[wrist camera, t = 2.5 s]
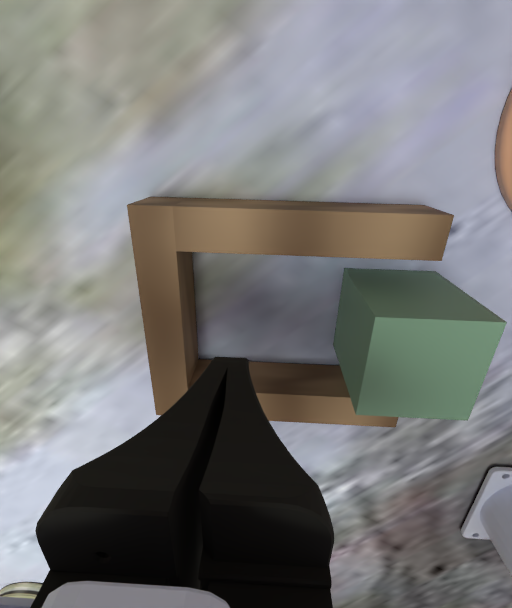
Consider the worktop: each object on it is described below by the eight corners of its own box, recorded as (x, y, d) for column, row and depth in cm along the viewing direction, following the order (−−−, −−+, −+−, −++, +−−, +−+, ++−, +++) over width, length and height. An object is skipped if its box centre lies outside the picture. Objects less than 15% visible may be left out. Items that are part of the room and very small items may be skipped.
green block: (435, 271, 18) (506, 322, 12) (414, 347, 20) (467, 420, 15) (344, 267, 18) (375, 317, 13) (333, 344, 20) (355, 415, 15)
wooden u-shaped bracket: (423, 205, 16) (454, 215, 14) (379, 392, 21) (395, 427, 19) (150, 196, 17) (127, 204, 14) (170, 382, 22) (156, 414, 19)
